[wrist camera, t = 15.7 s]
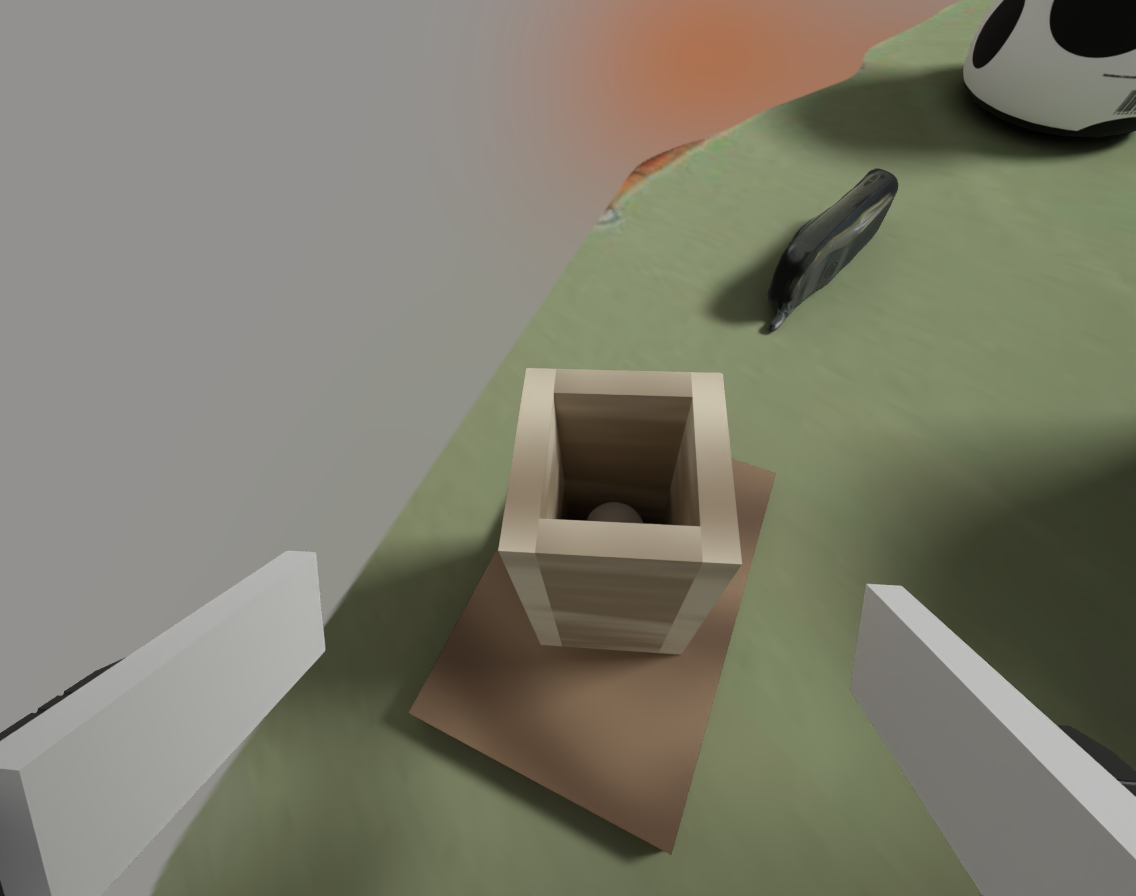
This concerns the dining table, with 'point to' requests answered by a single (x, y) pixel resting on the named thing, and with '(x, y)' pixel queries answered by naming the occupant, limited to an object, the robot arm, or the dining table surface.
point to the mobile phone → (830, 242)
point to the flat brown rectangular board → (590, 693)
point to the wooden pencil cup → (633, 477)
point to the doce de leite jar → (1057, 65)
